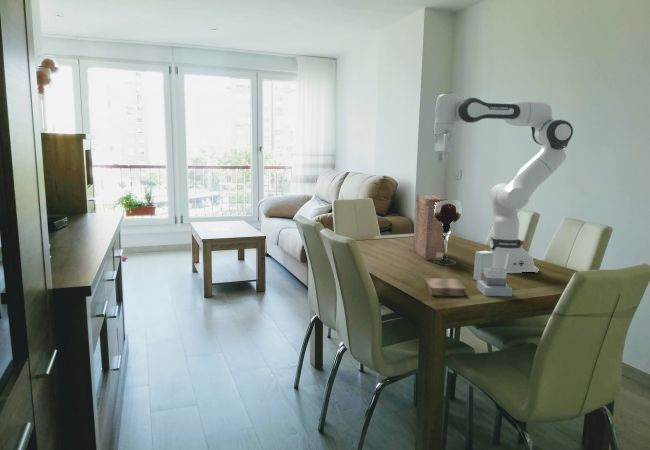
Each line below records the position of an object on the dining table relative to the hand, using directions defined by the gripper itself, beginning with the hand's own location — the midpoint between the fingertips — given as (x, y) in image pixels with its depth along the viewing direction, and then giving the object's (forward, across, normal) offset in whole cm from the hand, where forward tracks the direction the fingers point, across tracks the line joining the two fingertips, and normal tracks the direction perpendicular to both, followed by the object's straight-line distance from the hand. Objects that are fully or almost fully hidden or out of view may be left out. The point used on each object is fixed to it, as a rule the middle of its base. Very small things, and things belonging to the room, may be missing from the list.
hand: (442, 162), depth 210 cm
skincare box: (+48, -21, -15) cm, 55 cm away
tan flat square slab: (+48, -38, +5) cm, 61 cm away
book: (+48, +26, -2) cm, 55 cm away
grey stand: (+48, -38, -14) cm, 63 cm away
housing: (+45, -38, -14) cm, 60 cm away
